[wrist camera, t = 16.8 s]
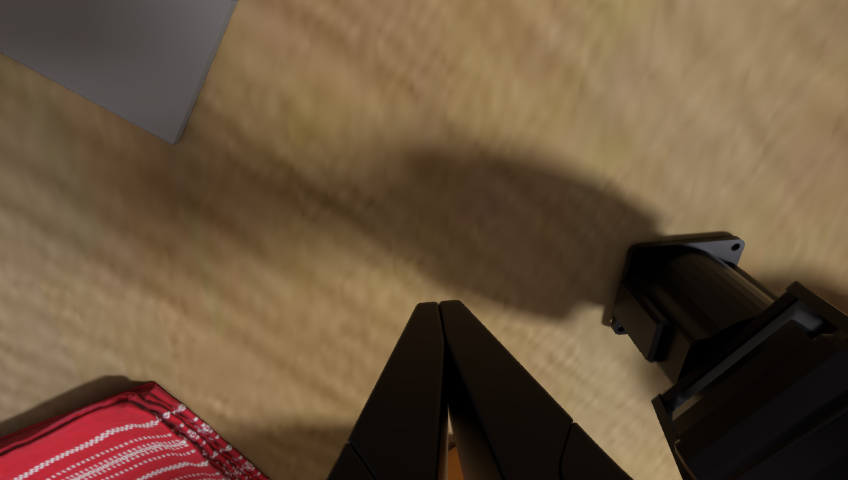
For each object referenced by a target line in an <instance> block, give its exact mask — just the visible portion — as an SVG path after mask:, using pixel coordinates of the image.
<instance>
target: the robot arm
mask: <svg viewBox="0 0 848 480" xmlns="http://www.w3.org/2000/svg"><path fill="white" fill-rule="evenodd" d="M744 246H745V243H744V241H743V240H741V239H740V238H738V237H737V236H727V237H715V238H702V239H689V240H677V241H664V242H651V243H639V244H635V245H633V246H631V248H630V249H629V251H628V254H627V258H626V262H625V267H624V271H623V276H622V279H621V280H620V282H619V287H618V291H617V295H616V300H615V304H614V309H613V314H614V315H613V319H612V324H611V328H612V329H613V331H614V332H615V333H616V334H618V335H623V334H628V335H629V337H630V338H631V339H632V341H633V342H634V344H635V345H636V346H637V348H638V349H639V351H640V352H641V353H642V355H643V356H644V358H645V359H646V360H647V361H649V362H650V363H655V362H656V363H657V365H658V366H659V368H660V369H661V370H662V372H663V373H664V374H665V376H666V377H667V378H668V380H669V381H670V382H671V384H672V386H671V387H670V388H669V389H668V390H666V391H665V392H664V393H663V394H658V395H657V396H656V397H655V398H653V399H652V400H651V402H652V404H653V407H654V409H655V412H656V414H657V417H658V420H659V422H660V425H661V427H662V430H663V432H664V435H665V437H666V440H667V442H668V444H669V447H670V449H671V452H672V454H673V457H674V459H675V462H676V464H677V467H678V469H679V472H680V474H681V476H682V479H683V480H848V315H847V314H846V313H844V312H843V311H841V310H840V309H838V308H836V307H835V306H833V305H832V304H830V303H829V302H827V301H826V300H824V299H823V298H821V297H820V296H818V295H817V294H815V293H814V292H812V291H811V290H809V289H808V288H806V287H805V286H803V285H802V284H800V283H798V282H797V281H795V282H794V283H792V284H791V285H790V286H789V287H788V288H786V290H787V291H786V292H785V293H784V294H783V295H782V296H780V297H778V296H777V295H776V294H774V293H773V292H772V291H770V290H769V289H768V288H766V287H765V286H764V285H762V284H761V283H759V282H758V281H757V280H755V279H754V278H753V277H751V276H750V275H749V274H747V273H746V272H745V271H743V270H742V269H741V268H739V267H738V266H737V264H738V261H739V259H740V256H741V254H742V251H743V249H744ZM639 251H641V252H640V253H639V254H637V252H639ZM636 254H637V255H636ZM620 326H621V327H620ZM448 410H449V417H450V422H451V426H452V431H453V435H454V439H455V444H456V448H457V452H458V456H459V461H460V465H461V469H462V473H463V477H464V480H633V479H632V478H631V477H630V476H629V475H628V474H627V473H626V472H625V471H624V470H622V469H621V468H620V467H619V466H618V465H617V464H616V463H615V462H614V461H613V460H612V459H611V458H610V457H609V456H608V455H607V454H606V453H605V452H604V451H603V450H602V449H601V448H600V447H599V446H598V445H597V444H596V443H595V442H594V441H593V440H592V438H591V437H590V436H589V435H588V434H587V433H586V432H585V431H584V430H583V429H582V428H581V427H580V426H579V425H578V424H577V423H576V422H574V423H573V419H572V418H571V417H570V415H569V414H568V413H567V412H566V411H565V410H564V409H563V408H562V407H561V406H560V405H559V404H558V403H557V402H556V401H555V400H554V399H553V398H552V397H551V396H550V394H549V393H548V392H547V391H546V390H545V389H544V388H543V387H542V386H541V385H540V384H539V383H538V382H537V381H536V380H535V379H534V378H533V377H532V376H531V374H530V373H529V372H528V371H527V370H526V369H525V368H524V367H523V366H522V365H521V364H520V363H519V362H518V361H517V360H516V359H515V358H514V357H513V356H512V355H511V353H510V352H509V351H508V350H507V349H506V348H505V347H504V346H503V345H502V344H501V343H500V342H499V341H498V340H497V339H496V338H495V337H494V336H493V335H492V333H491V332H490V331H489V330H488V329H487V328H486V327H485V326H484V325H483V324H482V323H481V322H480V321H479V320H478V319H477V318H476V317H475V316H474V315H473V314H472V312H471V311H470V310H469V309H468V308H467V307H466V306H465V305H464V304H463V303H462V302H461V301H459V300H449V301H441V302H440V303H439V304H438V303H437V302H425V303H419V304H417V306H416V307H415V309H414V311H413V313H412V315H411V317H410V319H409V321H408V323H407V325H406V327H405V329H404V330H403V332H402V334H401V336H400V338H399V340H398V342H397V344H396V346H395V348H394V350H393V352H392V354H391V356H390V358H389V360H388V361H387V363H386V365H385V367H384V369H383V371H382V373H381V375H380V377H379V379H378V381H377V383H376V385H375V387H374V389H373V391H372V393H371V394H370V396H369V398H368V400H367V402H366V404H365V406H364V408H363V410H362V412H361V414H360V416H359V418H358V420H357V422H356V424H355V426H354V427H353V429H352V431H351V433H350V435H349V437H348V439H347V441H348V443H346V444H345V445H344V446H343V448H342V450H341V452H340V454H339V456H338V458H337V460H336V462H335V464H334V466H333V468H332V469H331V471H330V473H329V475H328V477H327V478H326V480H448Z"/></svg>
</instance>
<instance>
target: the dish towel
mask: <svg viewBox="0 0 848 480" xmlns="http://www.w3.org/2000/svg"><path fill="white" fill-rule="evenodd" d="M0 480H271V479H269V478H268V477H266V476H265V475H264V474H263V473H261V472H260V471H259V470H258V469H257V468H256V467H255V466H254V465H253V464H252V463H251V462H250V461H248V460H247V459H246V458H245V457H243V456H242V455H241V454H240V453H239V452H238V451H237V450H236V449H235V448H234V447H233V446H232V445H231V444H229V443H227V442H226V441H225V440H224V439H223V438H222V437H221V436H220V435H219V434H218V433H217V432H215V431H214V430H213V429H212V428H211V427H210V426H209V425H208V424H207V423H205V422H204V421H202V420H201V419H200V418H199V417H198V416H196V415H195V414H194V413H193V412H191V411H190V410H189V409H188V408H187V407H186V406H185V405H184V404H182V403H180V402H178V401H177V400H175V399H174V398H173V397H171V396H170V395H169V394H168V393H167V392H166V391H164V390H163V389H162V388H161V387H160V386H159V385H158V384H157V383H155V382H149V383H147V384H144V385H141V386H137V387H135V388H132V389H130V390H127V391H124V392H121V393H118V394H115V395H113V396H110V397H108V398H106V399H103V400H100V401H98V402H95V403H92V404H89V405H86V406H84V407H81V408H78V409H76V410H73V411H70V412H68V413H65V414H62V415H59V416H57V417H54V418H51V419H48V420H46V421H43V422H41V423H38V424H35V425H32V426H29V427H26V428H24V429H22V430H19V431H17V432H14V433H12V434H8V435H5V436H3V437H1V438H0Z"/></svg>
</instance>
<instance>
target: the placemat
mask: <svg viewBox="0 0 848 480" xmlns="http://www.w3.org/2000/svg"><path fill="white" fill-rule="evenodd" d="M237 1H238V0H0V52H1V53H2V54H4V55H6V56H8V57H10V58H12V59H14V60H15V61H17V62H19V63H21V64H23V65H25V66H27V67H28V68H30V69H32V70H34V71H36V72H38V73H40V74H41V75H43V76H45V77H47V78H49V79H51V80H53V81H54V82H56V83H58V84H60V85H62V86H64V87H66V88H67V89H69V90H71V91H73V92H75V93H77V94H79V95H81V96H82V97H84V98H86V99H88V100H90V101H92V102H94V103H95V104H97V105H99V106H101V107H103V108H105V109H107V110H108V111H110V112H112V113H114V114H116V115H118V116H120V117H121V118H123V119H125V120H127V121H129V122H131V123H133V124H134V125H136V126H138V127H140V128H142V129H144V130H146V131H147V132H149V133H151V134H153V135H155V136H157V137H159V138H160V139H162V140H164V141H166V142H168V143H170V144H172V145H174V144H176V143H177V142H179V140H180V138H181V136H182V133H183V131H184V128H185V126H186V124H187V121H188V119H189V116H190V114H191V112H192V109H193V107H194V104H195V102H196V100H197V97H198V95H199V92H200V90H201V88H202V85H203V83H204V80H205V78H206V76H207V73H208V71H209V68H210V66H211V63H212V61H213V59H214V56H215V54H216V51H217V49H218V47H219V44H220V42H221V39H222V37H223V35H224V32H225V30H226V27H227V25H228V23H229V20H230V18H231V15H232V13H233V11H234V8H235V6H236V3H237Z"/></svg>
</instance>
